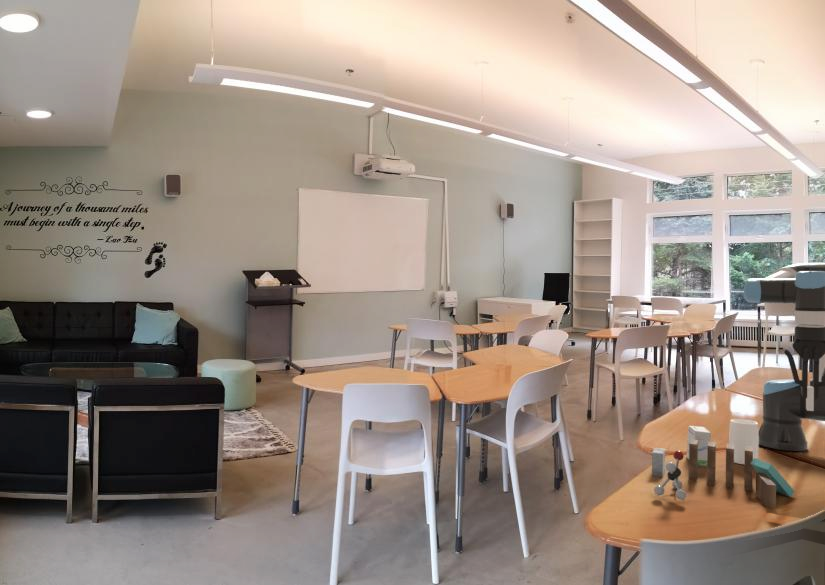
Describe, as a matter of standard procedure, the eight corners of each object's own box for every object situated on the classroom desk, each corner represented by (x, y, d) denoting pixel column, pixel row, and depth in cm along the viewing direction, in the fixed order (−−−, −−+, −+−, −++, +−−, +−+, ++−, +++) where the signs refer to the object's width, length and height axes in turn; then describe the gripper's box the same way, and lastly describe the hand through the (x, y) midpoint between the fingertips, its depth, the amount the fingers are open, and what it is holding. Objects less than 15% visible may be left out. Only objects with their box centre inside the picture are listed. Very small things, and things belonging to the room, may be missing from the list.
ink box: (686, 460, 194) (686, 425, 194) (703, 461, 193) (703, 426, 193) (693, 468, 186) (693, 430, 186) (710, 469, 184) (711, 431, 185)
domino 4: (752, 484, 170) (752, 447, 170) (752, 490, 164) (752, 451, 164) (744, 483, 171) (745, 446, 171) (744, 489, 165) (744, 450, 166)
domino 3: (733, 482, 172) (734, 444, 172) (733, 487, 167) (734, 449, 167) (725, 480, 173) (726, 443, 173) (725, 486, 168) (726, 448, 168)
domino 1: (697, 476, 177) (697, 440, 177) (696, 482, 171) (696, 444, 171) (690, 475, 178) (690, 439, 178) (688, 480, 172) (689, 443, 172)
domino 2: (715, 479, 174) (715, 442, 174) (714, 484, 169) (715, 446, 169) (707, 478, 175) (708, 441, 175) (707, 483, 170) (707, 445, 170)
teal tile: (777, 484, 166) (754, 458, 164) (795, 491, 160) (771, 464, 158) (773, 489, 165) (750, 463, 164) (790, 497, 160) (767, 469, 158)
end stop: (664, 471, 181) (665, 448, 181) (662, 477, 175) (662, 453, 175) (654, 469, 183) (654, 447, 183) (651, 475, 177) (652, 452, 177)
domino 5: (763, 473, 161) (776, 485, 151) (763, 494, 161) (775, 508, 151) (755, 472, 162) (767, 484, 152) (755, 493, 162) (767, 507, 151)
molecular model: (652, 495, 159) (653, 456, 160) (663, 484, 169) (663, 447, 169) (685, 502, 155) (685, 461, 155) (694, 490, 164) (694, 452, 164)
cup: (756, 470, 184) (757, 425, 184) (726, 465, 189) (727, 421, 189) (760, 464, 190) (760, 421, 190) (731, 460, 196) (731, 417, 196)
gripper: (837, 325, 164) (836, 409, 164) (782, 324, 170) (781, 405, 171) (841, 327, 157) (840, 415, 158) (784, 326, 164) (783, 410, 164)
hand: (809, 409), depth 164 cm, fingers closed
